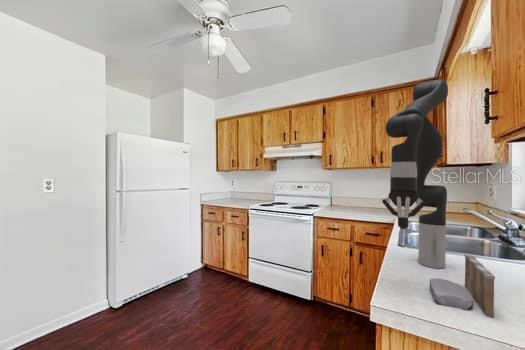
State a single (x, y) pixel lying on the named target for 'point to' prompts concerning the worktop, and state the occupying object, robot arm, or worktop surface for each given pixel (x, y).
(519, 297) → the worktop surface
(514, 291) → the worktop surface
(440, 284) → the stone block
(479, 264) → the walnut wall board
